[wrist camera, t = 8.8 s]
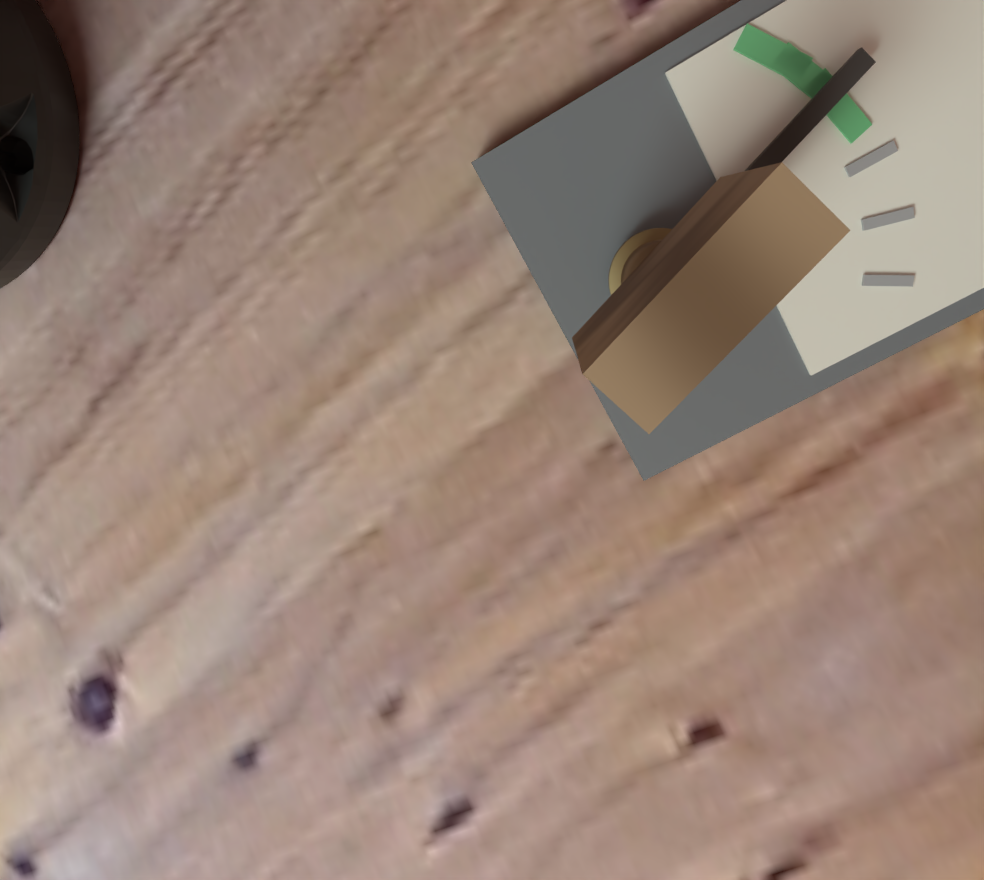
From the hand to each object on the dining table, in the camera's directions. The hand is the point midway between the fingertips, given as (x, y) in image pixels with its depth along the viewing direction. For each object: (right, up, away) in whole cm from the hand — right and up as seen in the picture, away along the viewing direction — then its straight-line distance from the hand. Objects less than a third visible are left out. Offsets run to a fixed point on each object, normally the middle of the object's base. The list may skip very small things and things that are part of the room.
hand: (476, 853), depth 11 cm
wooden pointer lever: (+8, +14, +19) cm, 25 cm away
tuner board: (+11, +14, +21) cm, 28 cm away
